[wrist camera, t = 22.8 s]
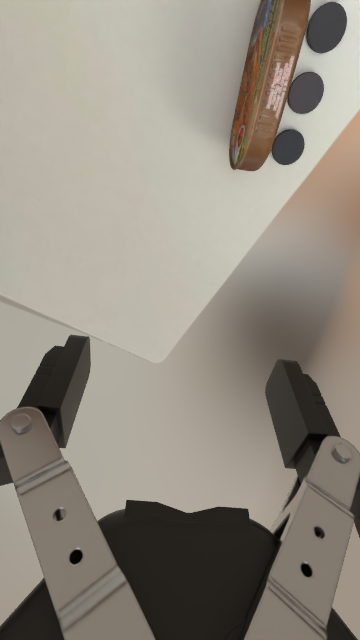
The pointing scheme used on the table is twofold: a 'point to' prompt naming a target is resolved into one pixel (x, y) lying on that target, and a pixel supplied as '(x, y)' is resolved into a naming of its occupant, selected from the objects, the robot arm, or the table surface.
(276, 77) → the tin
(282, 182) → the table surface
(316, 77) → the dark grey disc
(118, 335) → the table surface
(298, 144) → the dark grey disc
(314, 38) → the dark grey disc
